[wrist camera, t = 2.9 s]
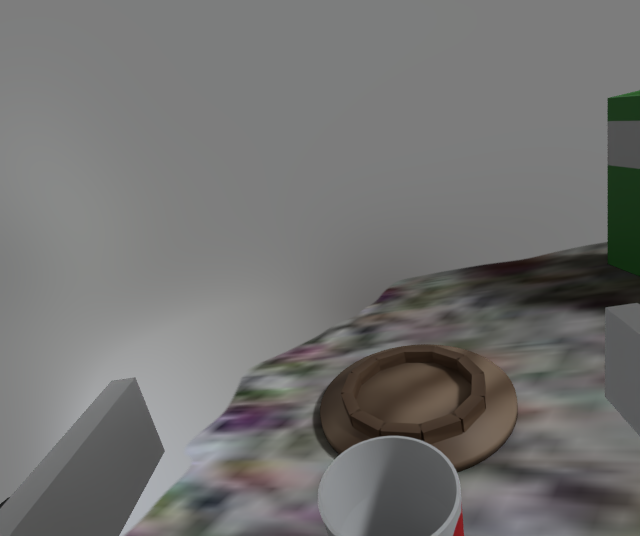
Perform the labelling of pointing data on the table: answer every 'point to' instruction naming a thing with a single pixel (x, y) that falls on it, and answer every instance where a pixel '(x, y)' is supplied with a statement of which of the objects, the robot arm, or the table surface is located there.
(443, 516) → the cup
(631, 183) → the hardback book
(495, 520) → the table surface
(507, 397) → the round tray
